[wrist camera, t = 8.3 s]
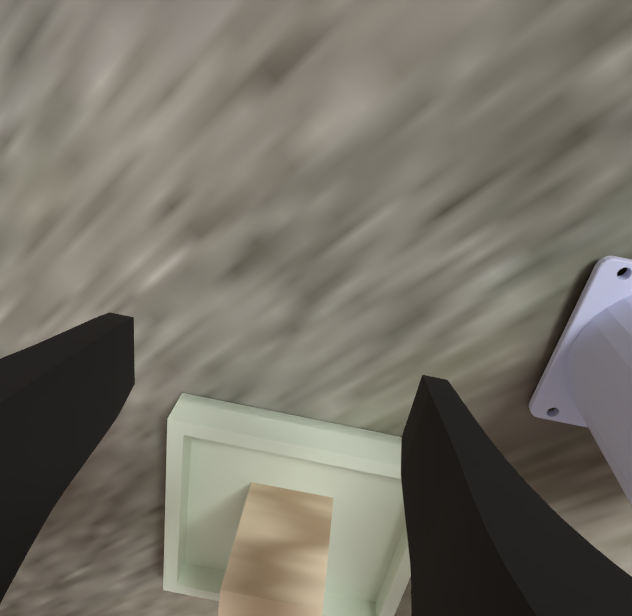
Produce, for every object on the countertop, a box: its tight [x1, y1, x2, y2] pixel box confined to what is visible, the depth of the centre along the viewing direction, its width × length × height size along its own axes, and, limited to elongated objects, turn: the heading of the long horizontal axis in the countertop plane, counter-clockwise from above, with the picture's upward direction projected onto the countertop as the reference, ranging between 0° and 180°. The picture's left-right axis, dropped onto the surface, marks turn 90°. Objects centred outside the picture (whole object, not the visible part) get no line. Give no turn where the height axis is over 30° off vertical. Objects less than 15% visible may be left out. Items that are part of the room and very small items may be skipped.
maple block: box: [218, 482, 333, 616], centre depth 25 cm, size 4×4×6 cm
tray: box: [163, 393, 411, 616], centre depth 27 cm, size 14×14×2 cm
